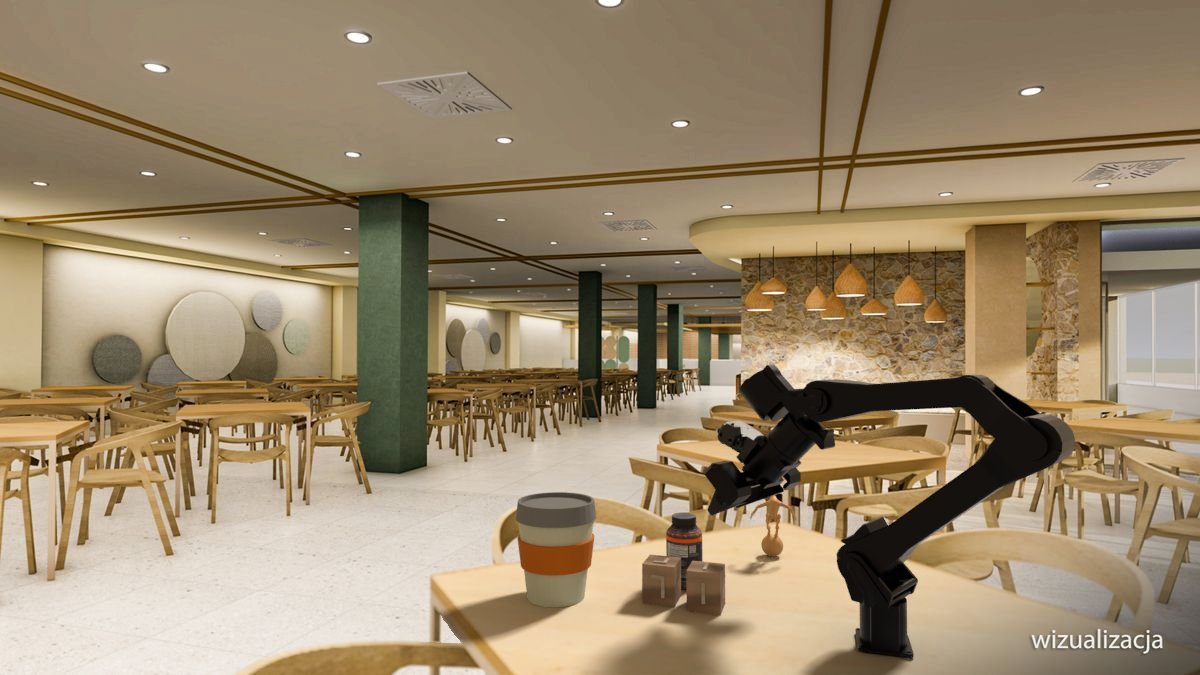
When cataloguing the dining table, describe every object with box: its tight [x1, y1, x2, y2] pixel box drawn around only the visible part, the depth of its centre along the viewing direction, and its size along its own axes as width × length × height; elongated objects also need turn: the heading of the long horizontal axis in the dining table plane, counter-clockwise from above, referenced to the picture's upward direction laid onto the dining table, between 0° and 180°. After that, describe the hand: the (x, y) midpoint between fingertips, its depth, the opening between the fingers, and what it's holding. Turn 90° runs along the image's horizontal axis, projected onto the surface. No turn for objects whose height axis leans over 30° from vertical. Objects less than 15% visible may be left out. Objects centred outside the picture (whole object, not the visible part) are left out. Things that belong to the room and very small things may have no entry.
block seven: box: [641, 554, 682, 608], centre depth 103 cm, size 5×5×6 cm
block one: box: [686, 561, 726, 616], centre depth 100 cm, size 5×5×6 cm
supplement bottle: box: [665, 511, 704, 590], centre depth 110 cm, size 6×6×11 cm
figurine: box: [749, 495, 797, 557], centre depth 124 cm, size 8×6×12 cm
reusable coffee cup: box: [515, 491, 597, 608], centre depth 104 cm, size 13×13×15 cm
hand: (722, 509), depth 105 cm, fingers open, 7 cm apart
